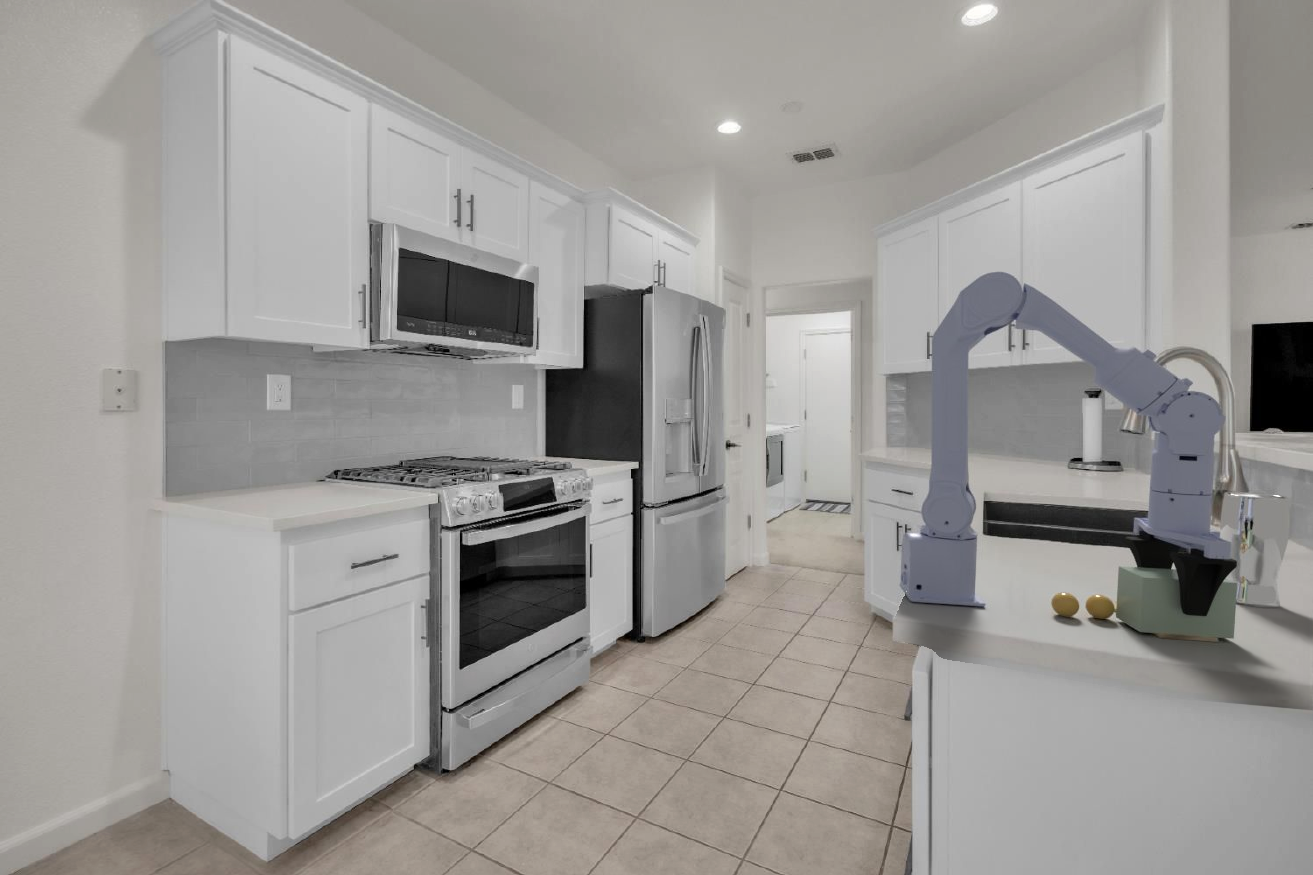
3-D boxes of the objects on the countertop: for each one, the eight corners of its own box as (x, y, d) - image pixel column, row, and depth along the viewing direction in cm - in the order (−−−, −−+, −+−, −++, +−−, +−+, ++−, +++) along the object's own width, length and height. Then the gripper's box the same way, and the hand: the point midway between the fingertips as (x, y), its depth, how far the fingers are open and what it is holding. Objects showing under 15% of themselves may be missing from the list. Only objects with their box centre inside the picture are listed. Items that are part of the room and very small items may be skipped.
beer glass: (1298, 611, 83) (1306, 499, 82) (1238, 606, 85) (1245, 497, 84) (1259, 595, 90) (1266, 492, 89) (1204, 592, 91) (1210, 490, 91)
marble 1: (1057, 618, 79) (1058, 595, 78) (1046, 611, 82) (1047, 588, 81) (1083, 620, 78) (1084, 597, 78) (1072, 613, 81) (1073, 590, 81)
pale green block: (1139, 631, 73) (1143, 577, 73) (1115, 617, 78) (1118, 566, 78) (1233, 638, 72) (1237, 582, 71) (1202, 623, 77) (1206, 571, 76)
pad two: (1159, 637, 73) (1159, 633, 73) (1130, 620, 78) (1130, 616, 78) (1218, 641, 72) (1218, 637, 71) (1184, 624, 77) (1184, 620, 77)
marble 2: (1092, 621, 78) (1093, 597, 78) (1080, 613, 81) (1081, 590, 81) (1118, 623, 77) (1120, 599, 77) (1106, 615, 80) (1107, 592, 80)
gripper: (1266, 502, 66) (1258, 627, 67) (1179, 485, 81) (1172, 589, 81) (1191, 499, 68) (1183, 622, 68) (1118, 483, 82) (1112, 585, 83)
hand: (1173, 604), depth 75 cm, fingers open, 7 cm apart
